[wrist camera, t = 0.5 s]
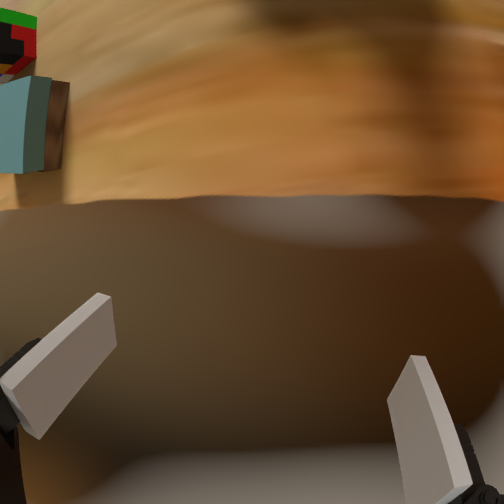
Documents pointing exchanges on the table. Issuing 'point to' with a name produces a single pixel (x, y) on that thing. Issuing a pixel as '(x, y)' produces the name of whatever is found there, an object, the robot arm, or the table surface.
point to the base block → (55, 125)
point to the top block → (23, 124)
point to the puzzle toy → (16, 42)
